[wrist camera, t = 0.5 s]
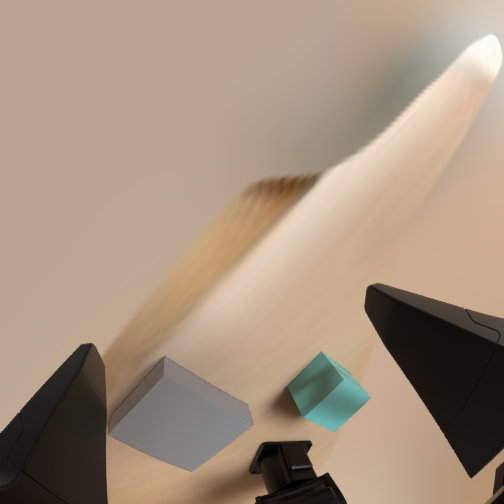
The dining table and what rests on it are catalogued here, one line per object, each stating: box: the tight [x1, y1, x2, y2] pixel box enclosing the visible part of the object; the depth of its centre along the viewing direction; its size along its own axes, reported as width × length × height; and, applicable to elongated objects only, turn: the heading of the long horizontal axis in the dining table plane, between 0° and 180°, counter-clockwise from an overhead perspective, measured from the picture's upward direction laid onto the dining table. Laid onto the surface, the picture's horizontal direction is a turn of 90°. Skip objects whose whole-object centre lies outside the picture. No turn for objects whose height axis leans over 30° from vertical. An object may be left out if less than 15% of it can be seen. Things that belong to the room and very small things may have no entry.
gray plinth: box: [108, 356, 254, 472], centre depth 25 cm, size 10×10×3 cm
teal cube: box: [287, 352, 371, 432], centre depth 27 cm, size 5×5×5 cm
